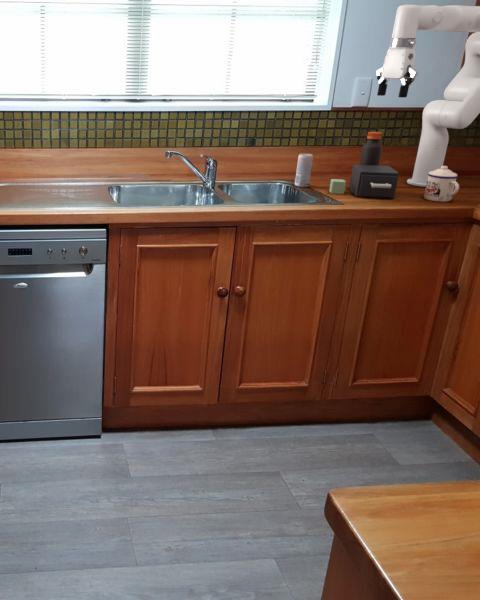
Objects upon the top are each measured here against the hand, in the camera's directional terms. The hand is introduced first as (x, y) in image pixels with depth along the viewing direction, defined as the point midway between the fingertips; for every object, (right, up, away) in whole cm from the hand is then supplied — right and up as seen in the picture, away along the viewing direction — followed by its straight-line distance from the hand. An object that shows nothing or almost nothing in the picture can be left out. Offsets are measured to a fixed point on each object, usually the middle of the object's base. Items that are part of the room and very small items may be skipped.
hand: (391, 96), depth 216 cm
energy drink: (-25, -28, +20) cm, 43 cm away
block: (-16, -33, +9) cm, 37 cm away
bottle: (+1, -28, +22) cm, 35 cm away
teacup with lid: (+16, -38, -2) cm, 41 cm away
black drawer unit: (-5, -34, +3) cm, 35 cm away
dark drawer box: (-4, -33, +8) cm, 34 cm away
